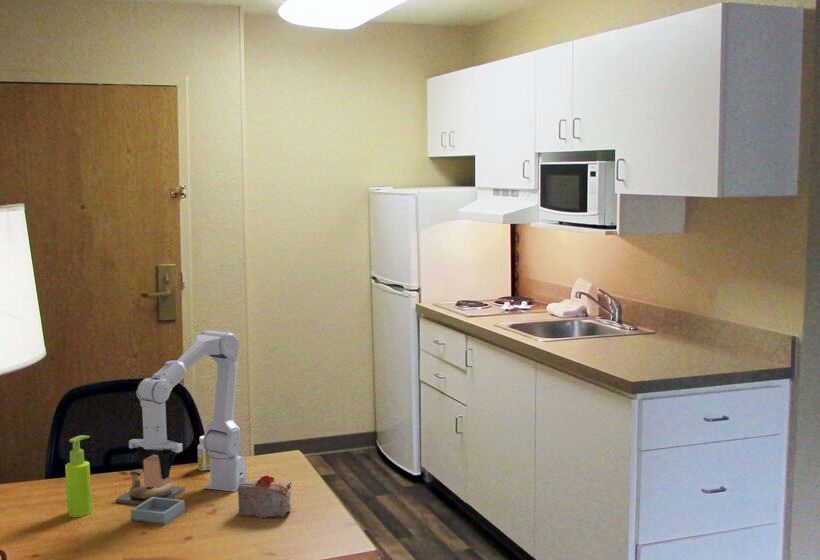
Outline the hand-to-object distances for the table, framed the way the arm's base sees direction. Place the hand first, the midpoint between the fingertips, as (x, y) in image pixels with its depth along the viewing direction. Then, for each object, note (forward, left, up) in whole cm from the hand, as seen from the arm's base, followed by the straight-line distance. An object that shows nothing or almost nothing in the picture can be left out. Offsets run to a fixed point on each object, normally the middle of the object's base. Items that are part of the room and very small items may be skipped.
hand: (156, 477), depth 230 cm
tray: (-1, +1, -10) cm, 10 cm away
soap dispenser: (+20, +4, -10) cm, 23 cm away
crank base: (+9, -11, -10) cm, 17 cm away
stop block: (0, 0, -2) cm, 2 cm away
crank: (+10, -11, -9) cm, 17 cm away
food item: (-27, -8, -10) cm, 30 cm away
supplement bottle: (+6, -36, -10) cm, 38 cm away
